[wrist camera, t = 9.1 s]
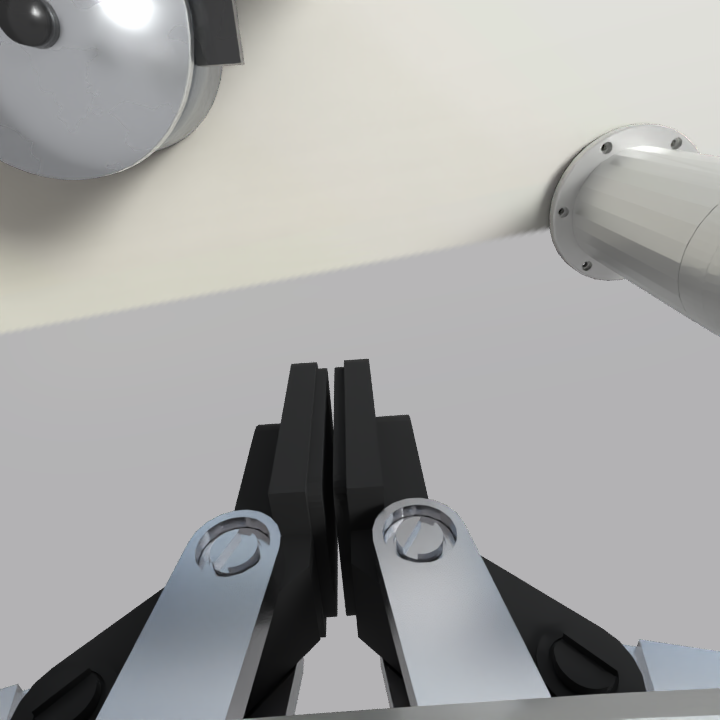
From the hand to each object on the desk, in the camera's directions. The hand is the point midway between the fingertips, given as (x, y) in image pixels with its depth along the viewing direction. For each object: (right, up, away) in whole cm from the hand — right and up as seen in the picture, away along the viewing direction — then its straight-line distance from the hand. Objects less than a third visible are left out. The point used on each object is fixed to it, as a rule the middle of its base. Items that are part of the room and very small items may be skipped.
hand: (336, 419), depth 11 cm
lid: (-16, +20, +16) cm, 30 cm away
